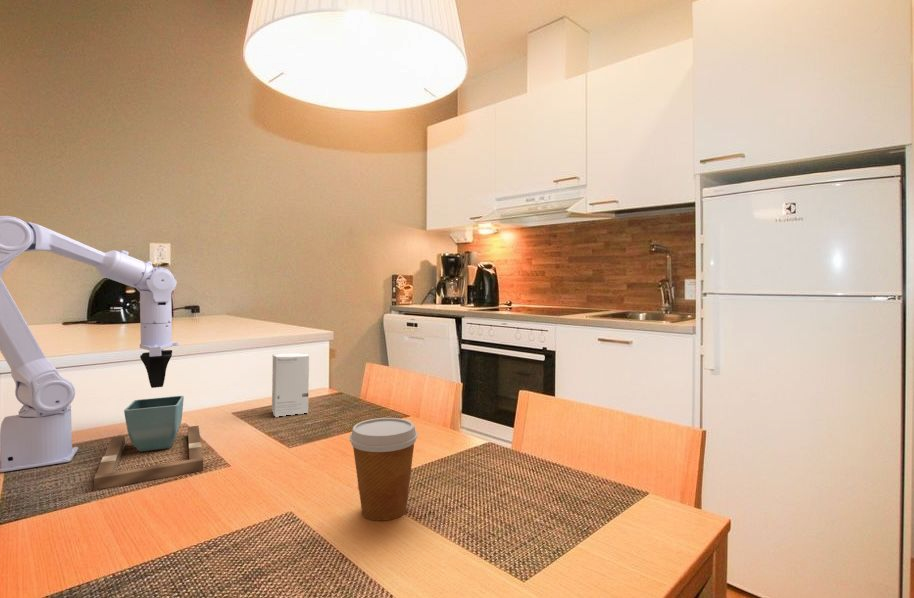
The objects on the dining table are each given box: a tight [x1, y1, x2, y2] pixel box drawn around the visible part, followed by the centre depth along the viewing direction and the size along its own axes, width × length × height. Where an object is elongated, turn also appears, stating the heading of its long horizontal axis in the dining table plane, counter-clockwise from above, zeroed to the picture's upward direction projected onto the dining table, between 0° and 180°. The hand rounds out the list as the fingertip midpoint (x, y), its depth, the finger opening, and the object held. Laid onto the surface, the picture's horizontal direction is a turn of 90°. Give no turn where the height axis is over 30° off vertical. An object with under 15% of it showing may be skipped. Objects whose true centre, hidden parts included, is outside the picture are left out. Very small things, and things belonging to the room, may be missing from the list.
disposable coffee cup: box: [348, 417, 419, 522], centre depth 66 cm, size 10×10×12 cm
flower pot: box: [123, 395, 185, 453], centre depth 92 cm, size 9×9×9 cm
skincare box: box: [271, 353, 310, 418], centre depth 117 cm, size 8×6×15 cm
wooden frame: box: [93, 425, 204, 491], centre depth 86 cm, size 15×24×2 cm, turn 31°
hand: (157, 385), depth 101 cm, fingers open, 3 cm apart
